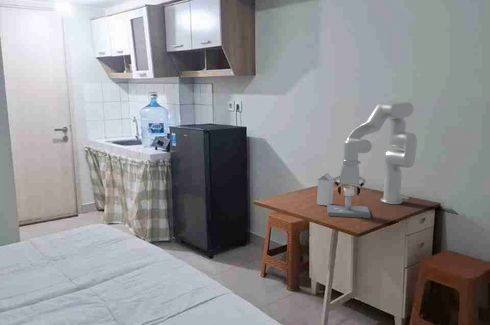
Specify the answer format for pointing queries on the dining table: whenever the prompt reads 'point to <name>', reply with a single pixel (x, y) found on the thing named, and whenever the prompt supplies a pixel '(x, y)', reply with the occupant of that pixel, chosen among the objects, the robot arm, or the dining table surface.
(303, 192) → the dining table surface
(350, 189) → the white rounded lump
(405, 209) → the dining table surface
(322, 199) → the milk carton
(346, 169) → the robot arm
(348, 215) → the post stand
